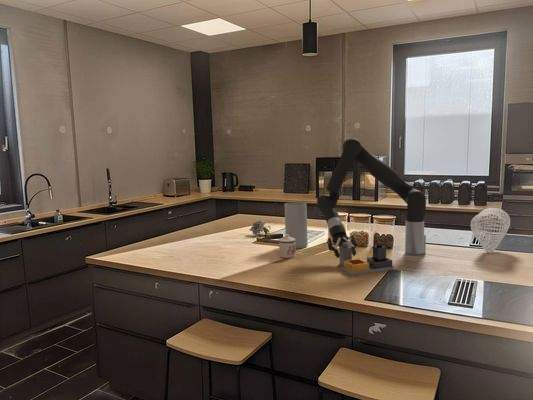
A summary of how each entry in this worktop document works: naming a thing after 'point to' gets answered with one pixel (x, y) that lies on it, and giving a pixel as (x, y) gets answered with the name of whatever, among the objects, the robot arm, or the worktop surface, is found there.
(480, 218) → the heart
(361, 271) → the multicoloured piece
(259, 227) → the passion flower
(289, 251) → the teacup with lid
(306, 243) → the cylinder vase
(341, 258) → the plug
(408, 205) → the robot arm
